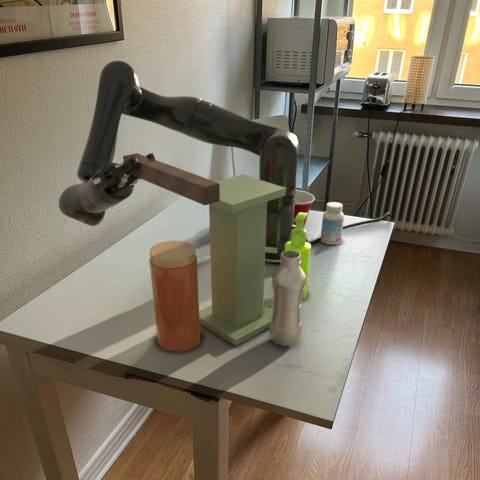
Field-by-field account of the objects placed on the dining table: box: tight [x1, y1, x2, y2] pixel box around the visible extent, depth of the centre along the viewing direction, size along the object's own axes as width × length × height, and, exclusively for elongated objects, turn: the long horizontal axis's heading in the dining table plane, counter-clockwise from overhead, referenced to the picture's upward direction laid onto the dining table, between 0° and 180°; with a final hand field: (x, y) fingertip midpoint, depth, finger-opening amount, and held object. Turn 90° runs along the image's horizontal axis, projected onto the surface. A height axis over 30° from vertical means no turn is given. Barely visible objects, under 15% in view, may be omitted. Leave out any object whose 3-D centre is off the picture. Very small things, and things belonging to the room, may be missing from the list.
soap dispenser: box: [285, 212, 312, 301], centre depth 114 cm, size 6×7×20 cm
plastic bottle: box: [268, 250, 306, 347], centre depth 98 cm, size 6×7×20 cm
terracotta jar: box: [148, 240, 201, 352], centre depth 98 cm, size 9×9×20 cm
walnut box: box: [122, 152, 220, 206], centre depth 86 cm, size 24×3×3 cm, turn 43°
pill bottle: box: [320, 201, 345, 245], centre depth 144 cm, size 6×6×11 cm
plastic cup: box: [293, 189, 316, 230], centre depth 148 cm, size 11×11×12 cm
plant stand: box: [199, 174, 286, 346], centre depth 102 cm, size 14×14×30 cm
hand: (144, 160), depth 89 cm, fingers closed on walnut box, 3 cm apart
